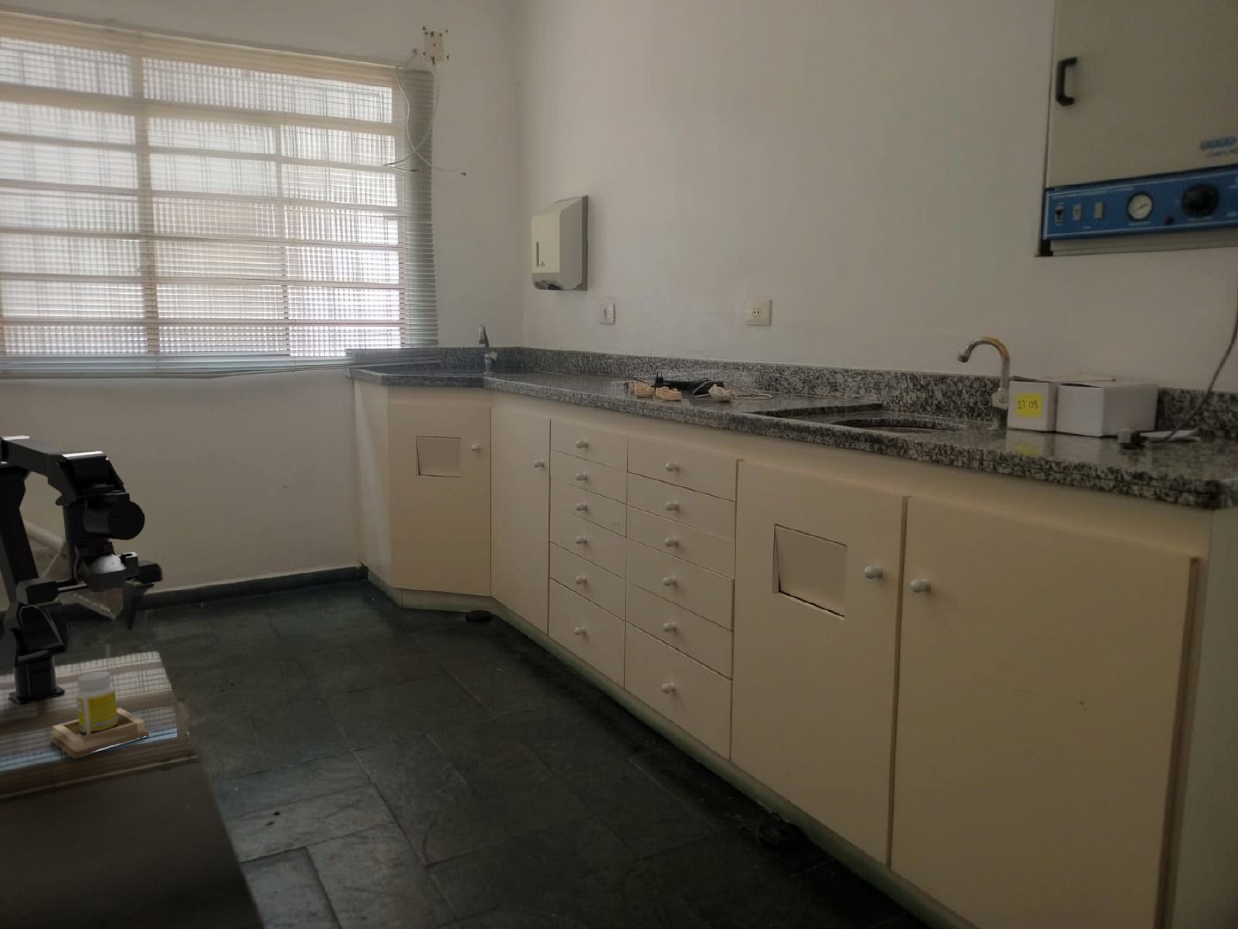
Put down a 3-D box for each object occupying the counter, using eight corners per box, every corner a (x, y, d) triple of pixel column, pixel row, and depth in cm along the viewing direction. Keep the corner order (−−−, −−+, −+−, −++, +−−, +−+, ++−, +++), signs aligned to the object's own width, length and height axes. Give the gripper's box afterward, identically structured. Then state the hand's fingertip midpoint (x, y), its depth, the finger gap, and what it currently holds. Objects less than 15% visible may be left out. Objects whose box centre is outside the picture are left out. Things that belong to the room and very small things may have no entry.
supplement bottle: (125, 727, 137) (120, 670, 136) (104, 739, 132) (98, 681, 131) (95, 727, 137) (89, 670, 137) (72, 739, 133) (66, 681, 132)
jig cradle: (51, 742, 134) (49, 726, 134) (122, 721, 141) (121, 706, 141) (75, 759, 128) (73, 742, 128) (148, 736, 135) (147, 721, 135)
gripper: (34, 552, 130) (45, 663, 132) (173, 531, 144) (181, 632, 145) (9, 543, 138) (20, 648, 139) (144, 524, 151) (152, 620, 153)
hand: (97, 637), depth 144 cm, fingers open, 9 cm apart
